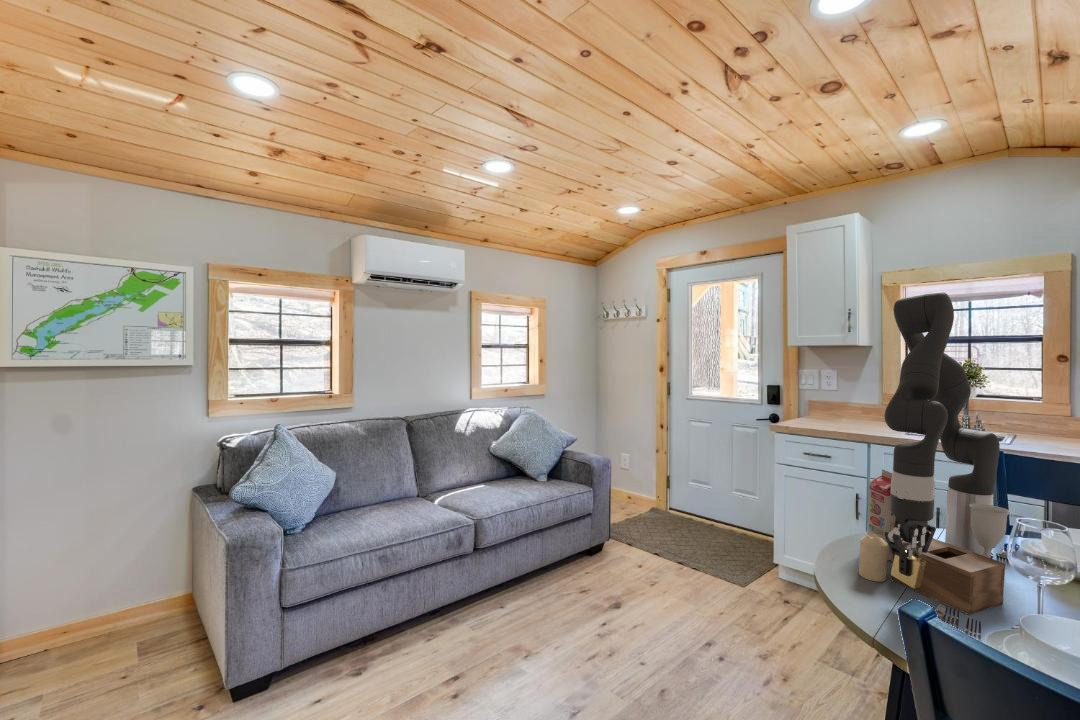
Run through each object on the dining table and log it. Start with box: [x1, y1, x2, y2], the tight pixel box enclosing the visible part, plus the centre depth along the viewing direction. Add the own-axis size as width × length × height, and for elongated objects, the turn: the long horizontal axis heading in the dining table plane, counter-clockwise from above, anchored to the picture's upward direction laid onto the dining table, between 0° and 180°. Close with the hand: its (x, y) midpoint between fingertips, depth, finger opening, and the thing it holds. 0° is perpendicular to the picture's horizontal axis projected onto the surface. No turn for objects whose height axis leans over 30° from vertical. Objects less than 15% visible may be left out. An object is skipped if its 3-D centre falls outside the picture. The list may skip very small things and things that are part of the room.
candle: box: [858, 533, 888, 583], centre depth 124 cm, size 6×6×10 cm
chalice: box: [969, 504, 1011, 559], centre depth 121 cm, size 7×7×18 cm
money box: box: [890, 537, 1006, 615], centre depth 117 cm, size 12×16×9 cm
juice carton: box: [866, 469, 895, 560], centre depth 136 cm, size 7×7×22 cm
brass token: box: [890, 550, 926, 589], centre depth 111 cm, size 2×5×6 cm, turn 22°
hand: (908, 573), depth 110 cm, fingers closed on brass token, 1 cm apart
